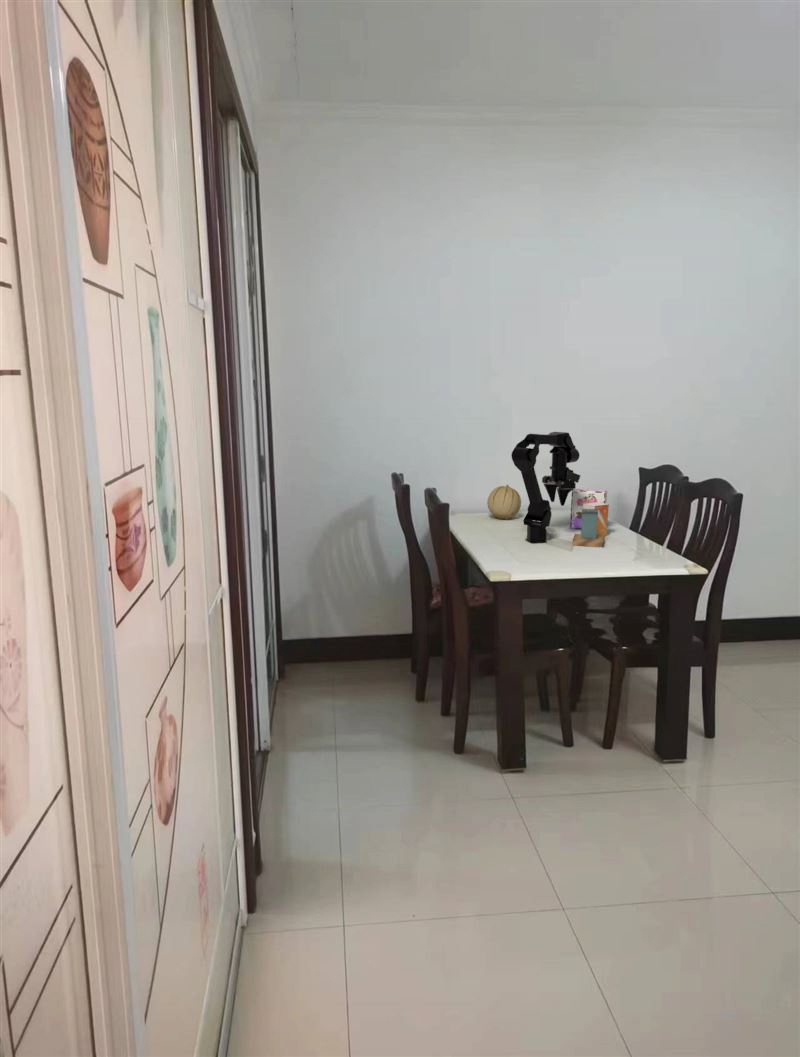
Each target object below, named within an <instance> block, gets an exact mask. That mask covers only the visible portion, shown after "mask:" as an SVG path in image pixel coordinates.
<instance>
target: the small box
mask: <svg viewBox="0 0 800 1057" xmlns="http://www.w3.org/2000/svg"><path fill="white" fill-rule="evenodd" d="M583 509H597V510H598V517H597V535H602V536H604V537H607V536H608V521H609V519H608V518H609V503H606V504H605V503H600V502H595V503H586V504H583Z"/></svg>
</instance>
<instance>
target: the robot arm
mask: <svg viewBox="0 0 800 1057" xmlns="http://www.w3.org/2000/svg"><path fill="white" fill-rule="evenodd" d="M530 445H534V446H533V447H531V448H530V447H529V446H530ZM540 445H548V446H551V447H552V448H551V449H550V450H549V454H551V455H552V456H551V465H550V466H549V470H551V475H544V476H543V477H542V478H541V483H543V486H544V488H545V490H546V492H547V494H548V497H549V500H550V501H549V500H547V499H544V498H543V495H542V493H541V488H540V485H539V482H538V478H537V474H536V470H535V465H536V463H537V457H538V455H539V454H540ZM510 455H511V460H512V462H513V464H514V466H515V468H517V469H518V470H519V472H520V474H521V477H522V480H523V483H524V487H525V492H526V493H527V498H528V501H529V504H528V507H527V513H526V515H525V516H524V518H523V525H524V526H527V528H526V538H525V539H524V540H525V541H527V542H529V543H530V544H539V543H540V544H541V543H542V544H543V543H548V542H547V532H548V531H547V529H546V528H547V527H550V523H551V519H552V515H553V514H552V511H551V510H552V507H551V504H550V502H551V503H554V502H555V500H556V495H558V499H559V503H560V506H563V507H564V506H565V503H566V500H567V498H568V495H569V494H570V492H572V490H573V489H574V488H576V484H579V481H580V478H581V474H577V473H575V472H574V470H572V469H570V467H568V464H570V463H571V464H572V463H576V462H578V460H579V458H580V457H581V456H580V455H581V454H580V452H579V450H578V449H577V448H576V445H574V441H573V439H572V437H571V435H570V432H564V431H552V432H549V433H548V434H541V433H528V434H526V435H525V437H524V439H522V440H521V441H519V442H518V443H517V444H516V445H515V446H514V448H513V450H512V452H511V454H510ZM556 493H557V494H556Z"/></svg>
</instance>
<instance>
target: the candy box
mask: <svg viewBox="0 0 800 1057" xmlns="http://www.w3.org/2000/svg"><path fill="white" fill-rule="evenodd" d="M607 498H608V490H607V489H589V488H576V487H575V488H573V490H572V491H571V503H570V520H569V522H570V523H569V524H570V525H569V529H573V530H581V523H582V509H583V504H586V503H595V502H600V503H605V504H607V501H608V500H607Z"/></svg>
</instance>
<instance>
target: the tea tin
mask: <svg viewBox="0 0 800 1057" xmlns="http://www.w3.org/2000/svg"><path fill="white" fill-rule="evenodd" d="M597 517H598V510H597V509H582V523H581V529H580V534H581V539H596V536H597Z"/></svg>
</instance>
